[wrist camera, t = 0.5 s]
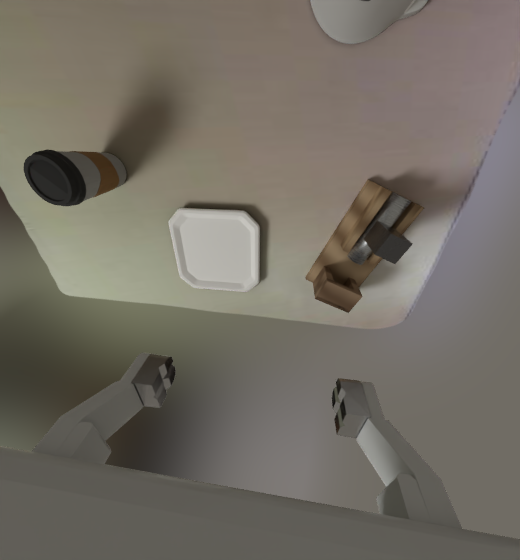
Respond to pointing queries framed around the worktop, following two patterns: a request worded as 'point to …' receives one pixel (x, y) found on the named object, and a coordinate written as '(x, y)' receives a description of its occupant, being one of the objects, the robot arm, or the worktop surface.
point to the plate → (216, 248)
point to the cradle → (333, 259)
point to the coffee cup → (73, 175)
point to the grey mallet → (383, 234)
